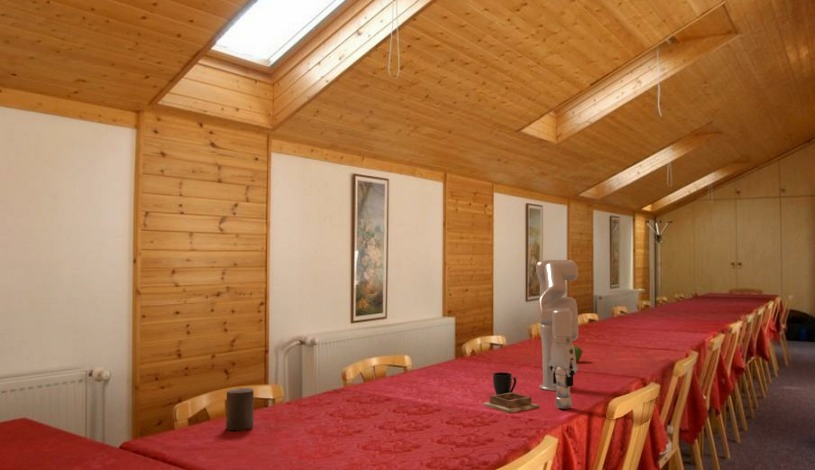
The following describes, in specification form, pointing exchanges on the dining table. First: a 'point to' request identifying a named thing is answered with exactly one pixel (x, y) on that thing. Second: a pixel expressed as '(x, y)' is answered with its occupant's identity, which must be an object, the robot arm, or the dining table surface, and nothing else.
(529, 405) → the bottle stand
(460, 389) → the dining table surface
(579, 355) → the apple
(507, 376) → the mug
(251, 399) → the dark grey cylinder
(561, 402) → the plastic bottle
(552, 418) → the dining table surface
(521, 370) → the dining table surface
